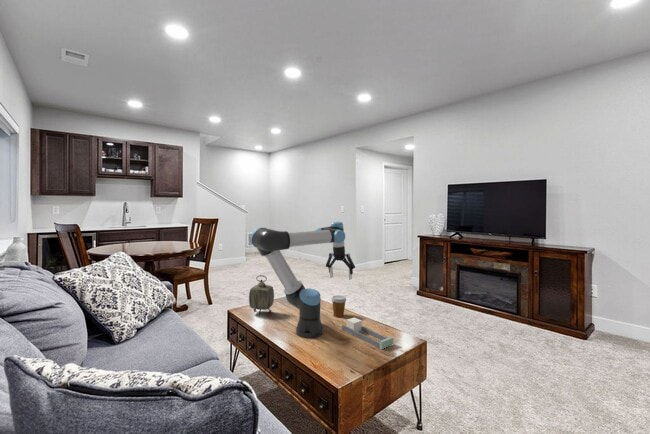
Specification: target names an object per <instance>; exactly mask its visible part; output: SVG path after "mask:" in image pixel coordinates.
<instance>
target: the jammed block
mask: <svg viewBox="0 0 650 434" xmlns="http://www.w3.org/2000/svg"><path fill="white" fill-rule="evenodd" d="M346 326H347V327H349V328H351V329H353V330H355V331H357V332H359V333H361V332H362V331H361V327H362V326H363V323H362V319H359V318H357V317H351V318H347V319H346Z"/></svg>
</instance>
